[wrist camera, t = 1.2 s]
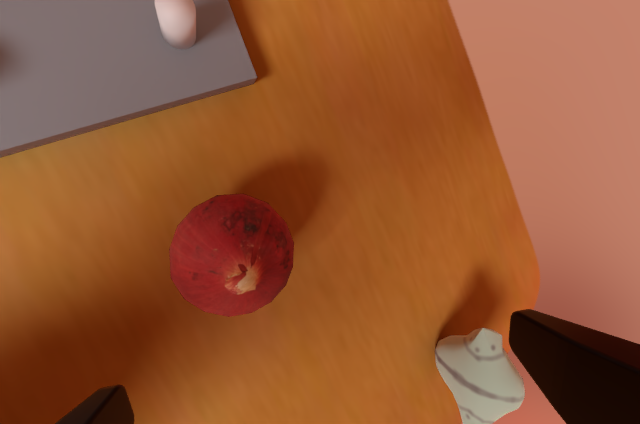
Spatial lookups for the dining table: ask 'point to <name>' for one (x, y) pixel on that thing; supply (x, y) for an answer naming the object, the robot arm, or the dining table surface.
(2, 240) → the dining table surface
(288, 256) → the onion
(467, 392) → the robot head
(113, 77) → the plate
